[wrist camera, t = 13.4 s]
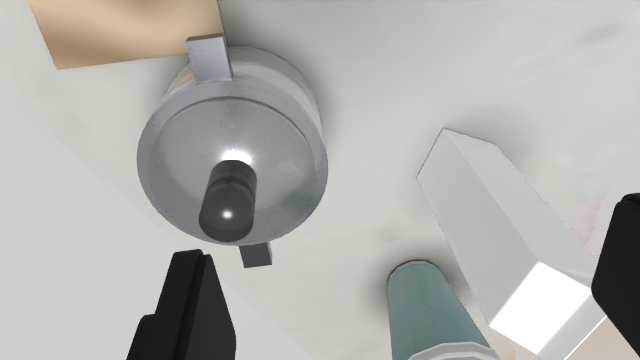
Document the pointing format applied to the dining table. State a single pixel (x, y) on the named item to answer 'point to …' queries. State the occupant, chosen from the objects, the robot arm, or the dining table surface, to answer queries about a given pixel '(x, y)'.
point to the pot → (249, 82)
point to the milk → (511, 247)
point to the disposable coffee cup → (431, 318)
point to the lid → (232, 170)
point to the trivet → (121, 28)
